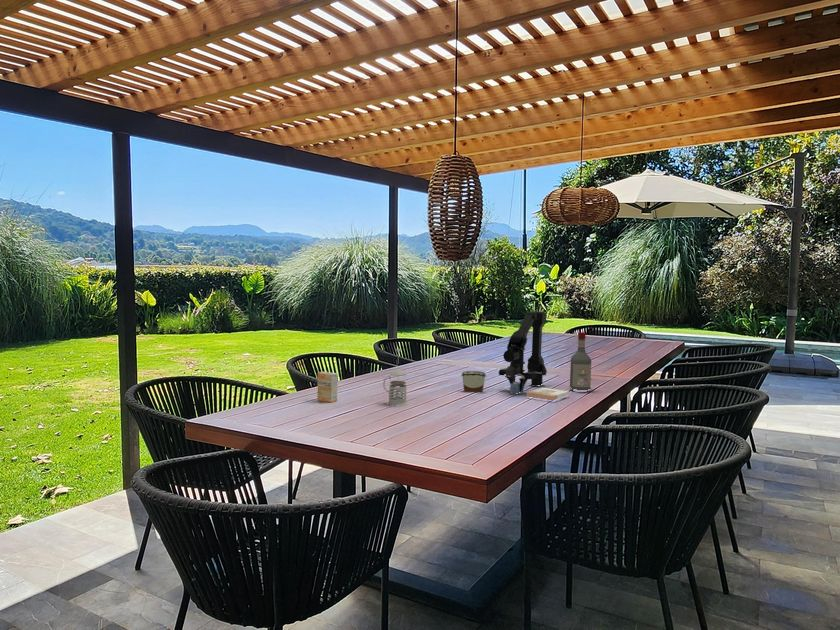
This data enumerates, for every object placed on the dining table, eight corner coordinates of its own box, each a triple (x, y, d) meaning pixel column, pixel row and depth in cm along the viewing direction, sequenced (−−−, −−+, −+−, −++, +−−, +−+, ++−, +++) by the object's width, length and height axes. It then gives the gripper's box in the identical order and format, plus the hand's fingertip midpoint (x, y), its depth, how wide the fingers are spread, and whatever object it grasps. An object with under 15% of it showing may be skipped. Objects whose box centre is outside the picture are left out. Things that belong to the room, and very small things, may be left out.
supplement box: (316, 400, 270) (316, 372, 269) (323, 399, 274) (323, 371, 273) (331, 403, 266) (331, 374, 265) (337, 401, 270) (337, 372, 269)
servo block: (518, 391, 299) (518, 379, 298) (524, 392, 296) (525, 380, 296) (508, 393, 292) (508, 382, 292) (515, 394, 289) (516, 383, 289)
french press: (405, 406, 261) (406, 350, 259) (380, 404, 263) (381, 349, 261) (410, 401, 271) (411, 347, 269) (386, 400, 273) (386, 346, 271)
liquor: (591, 392, 297) (593, 333, 295) (573, 392, 297) (575, 333, 295) (586, 389, 306) (588, 331, 304) (568, 389, 306) (570, 331, 304)
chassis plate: (542, 393, 294) (542, 387, 294) (568, 397, 285) (568, 391, 285) (526, 398, 282) (526, 392, 281) (553, 402, 273) (553, 396, 272)
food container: (485, 390, 299) (486, 371, 298) (485, 393, 293) (486, 373, 292) (461, 389, 300) (461, 370, 299) (460, 392, 294) (461, 372, 293)
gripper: (493, 359, 293) (492, 390, 294) (526, 363, 281) (525, 396, 282) (504, 357, 301) (504, 387, 302) (537, 361, 289) (536, 392, 290)
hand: (516, 390), depth 294 cm, fingers closed on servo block, 4 cm apart
